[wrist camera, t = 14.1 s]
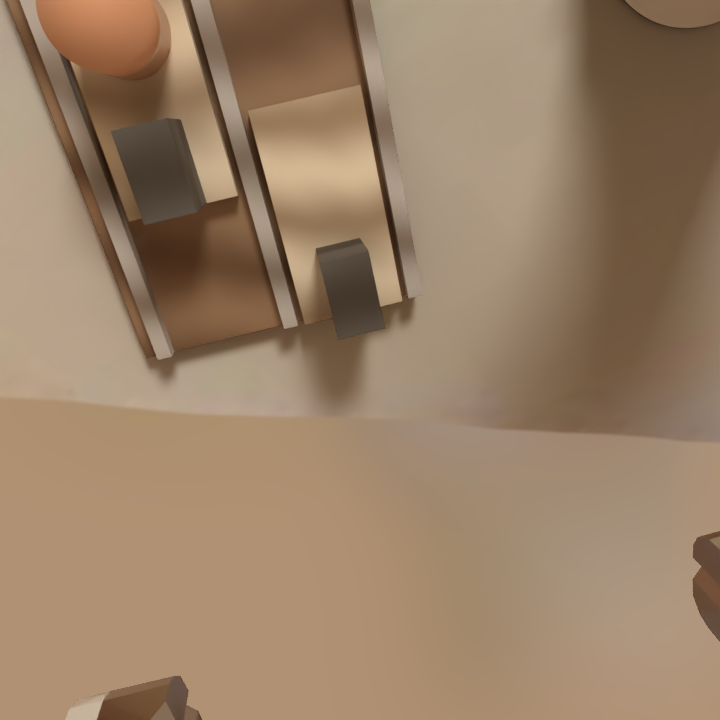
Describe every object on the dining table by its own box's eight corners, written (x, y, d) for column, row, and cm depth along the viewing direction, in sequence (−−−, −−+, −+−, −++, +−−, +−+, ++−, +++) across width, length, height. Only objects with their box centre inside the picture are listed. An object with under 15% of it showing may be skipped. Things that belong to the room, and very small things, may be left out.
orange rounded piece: (63, -10, 32) (16, -40, 26) (153, -30, 32) (125, -64, 26) (98, 89, 33) (62, 81, 28) (183, 69, 34) (163, 58, 28)
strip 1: (41, -33, 32) (-6, -64, 27) (165, -61, 32) (143, -96, 27) (132, 219, 37) (108, 233, 32) (239, 194, 37) (231, 204, 32)
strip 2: (248, 111, 36) (242, 108, 31) (358, 85, 36) (370, 78, 31) (304, 320, 41) (307, 347, 36) (399, 297, 41) (415, 320, 36)
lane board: (1, -31, 33) (-17, -40, 31) (344, -107, 33) (348, -121, 31) (149, 353, 42) (143, 363, 40) (416, 288, 42) (422, 295, 41)
